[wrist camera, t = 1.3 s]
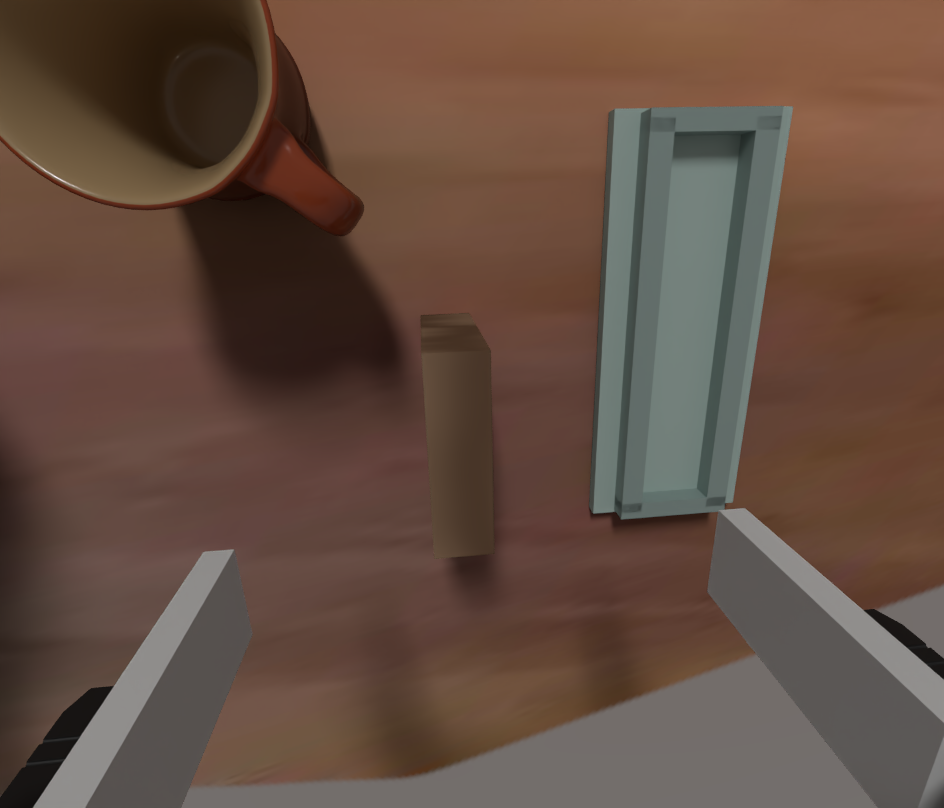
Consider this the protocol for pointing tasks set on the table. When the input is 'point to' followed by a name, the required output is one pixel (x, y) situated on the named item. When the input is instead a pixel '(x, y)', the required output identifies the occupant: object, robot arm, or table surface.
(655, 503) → the track base
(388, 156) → the table surface
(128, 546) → the table surface
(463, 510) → the slider block
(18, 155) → the mug
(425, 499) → the table surface
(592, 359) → the table surface
